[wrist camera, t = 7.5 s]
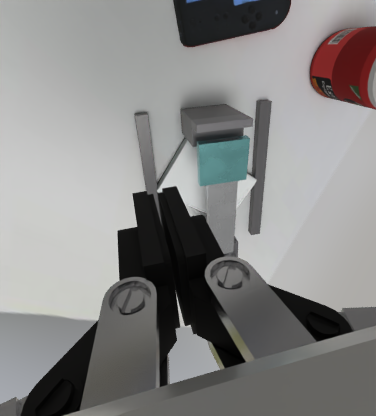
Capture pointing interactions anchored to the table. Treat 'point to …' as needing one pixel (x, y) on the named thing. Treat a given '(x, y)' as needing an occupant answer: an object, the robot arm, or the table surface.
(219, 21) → the game console
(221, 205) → the rectangular panel
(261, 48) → the table surface
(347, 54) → the canned food
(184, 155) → the external hard drive
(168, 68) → the table surface
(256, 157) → the socket frame
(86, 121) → the table surface
